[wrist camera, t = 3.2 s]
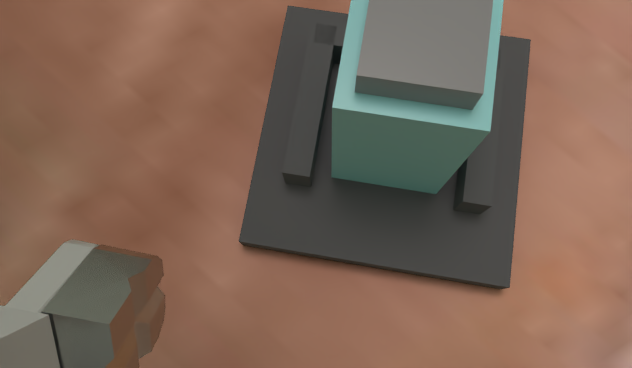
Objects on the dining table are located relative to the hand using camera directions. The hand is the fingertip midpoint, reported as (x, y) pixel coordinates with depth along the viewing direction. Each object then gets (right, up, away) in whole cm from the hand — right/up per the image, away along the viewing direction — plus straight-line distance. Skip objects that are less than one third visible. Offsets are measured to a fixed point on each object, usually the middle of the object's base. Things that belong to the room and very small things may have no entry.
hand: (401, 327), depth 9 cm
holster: (+2, +4, +13) cm, 14 cm away
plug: (+1, +4, +12) cm, 13 cm away
